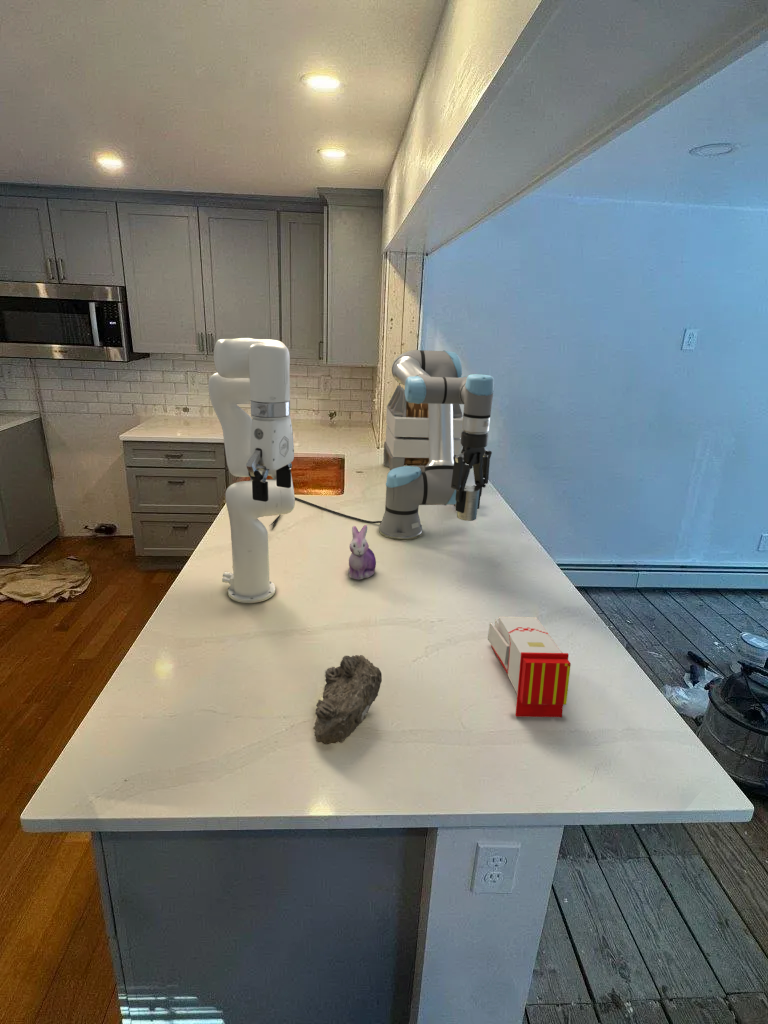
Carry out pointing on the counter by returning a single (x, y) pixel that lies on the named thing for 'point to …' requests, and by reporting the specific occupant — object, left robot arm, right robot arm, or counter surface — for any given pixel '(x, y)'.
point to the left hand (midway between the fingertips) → (272, 493)
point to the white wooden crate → (412, 432)
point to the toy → (531, 665)
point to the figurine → (361, 555)
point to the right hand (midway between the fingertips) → (467, 509)
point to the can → (470, 504)
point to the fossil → (346, 698)
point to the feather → (275, 521)
